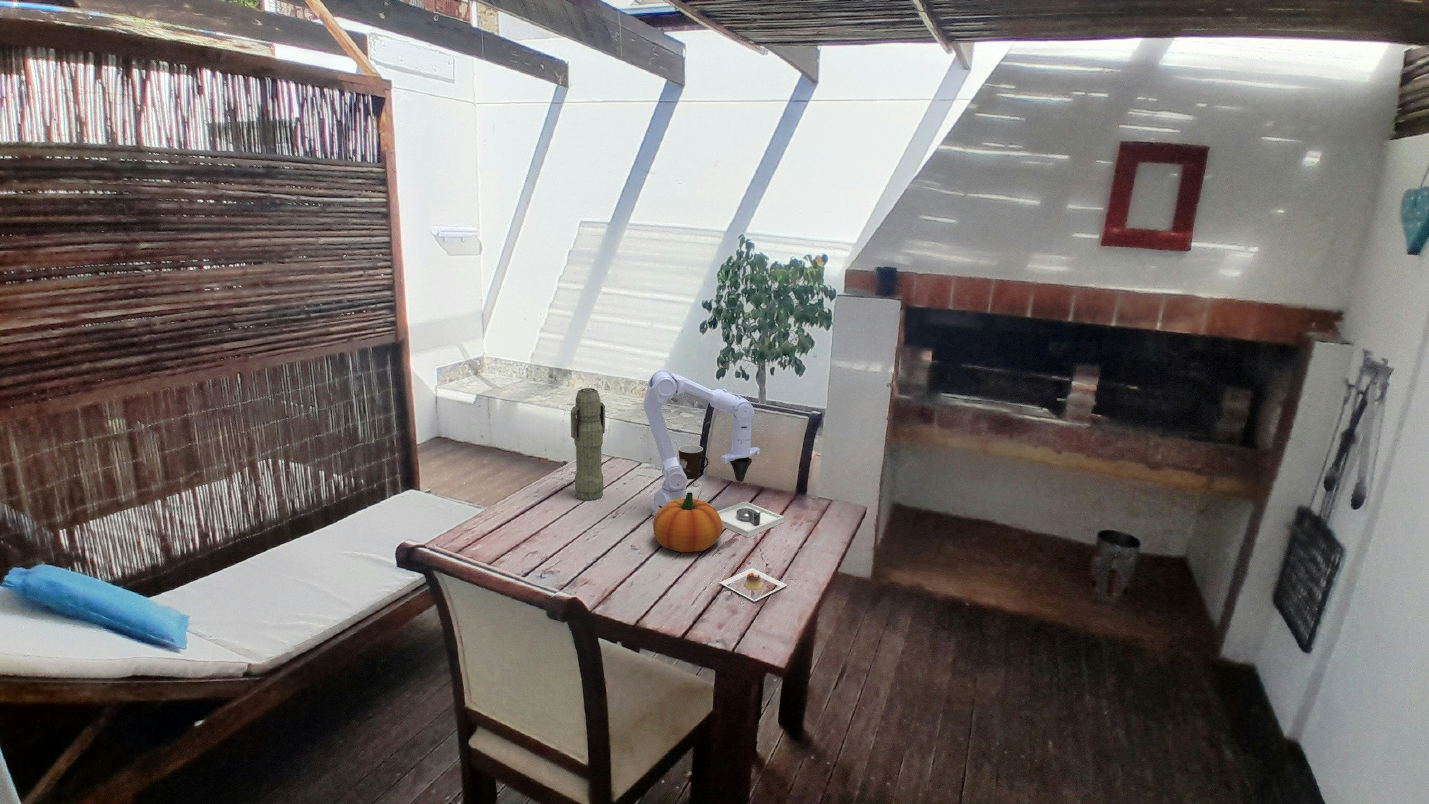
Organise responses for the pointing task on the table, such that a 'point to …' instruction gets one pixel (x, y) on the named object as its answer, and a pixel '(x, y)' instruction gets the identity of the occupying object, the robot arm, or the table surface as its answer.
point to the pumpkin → (687, 525)
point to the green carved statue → (588, 443)
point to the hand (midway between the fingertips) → (739, 480)
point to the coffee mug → (691, 460)
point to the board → (748, 527)
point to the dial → (748, 515)
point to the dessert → (753, 581)
